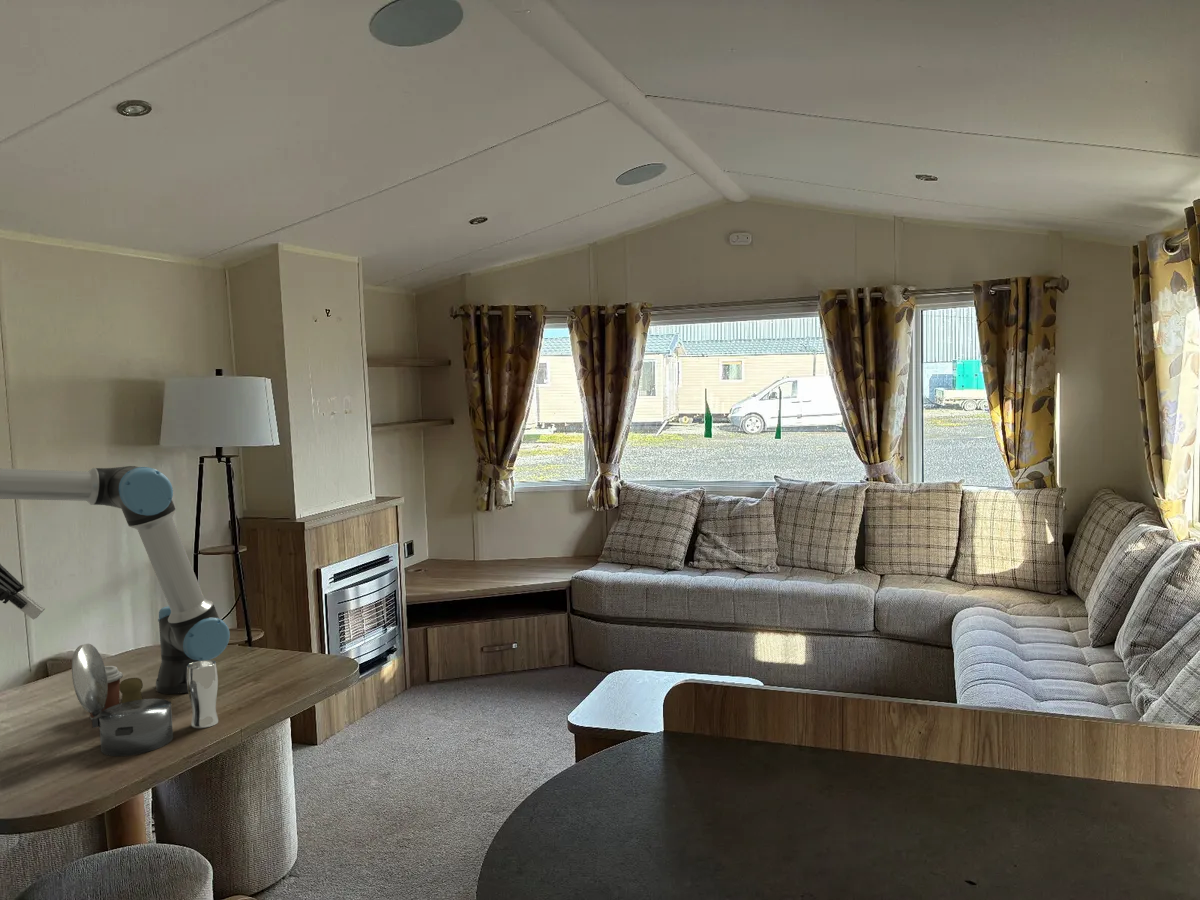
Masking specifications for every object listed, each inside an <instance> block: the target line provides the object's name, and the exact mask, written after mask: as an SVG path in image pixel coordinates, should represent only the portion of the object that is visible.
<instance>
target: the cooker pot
mask: <svg viewBox="0 0 1200 900" xmlns="http://www.w3.org/2000/svg"><path fill="white" fill-rule="evenodd" d="M172 712H173V711H172V703H171V701H170V700H167V699H163V698H144V699H143V698H142V699H141V700H134V701H129V702H125V703H119V704H118V705H115V706H112V707H109V708H107V709H105V710H104V711H101V712H100V713H99V714H98V715H97V716H95V717H94V718H93V719H92V720H91V722H92V723H91V725H92V728H99V736H100V737H99V738H100V751H101V753H102V754H104V755H105V756H111V757H126V756H128V757H129V756H135V755H141V754H144V753H145V754H146V753H149V752H151V751H155V750H158V749H160V748H162V747H165V746H167V745H168V744H169V743H170V742H172V741H173V738H174V729H173V728H174V727H173V714H172Z"/></svg>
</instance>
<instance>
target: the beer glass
mask: <svg viewBox="0 0 1200 900" xmlns="http://www.w3.org/2000/svg"><path fill="white" fill-rule="evenodd" d="M217 668H218V667H217V662H216V661H215V660H213V659H211V660H203V661H197V662H193V663H190V664H188V665H187V689H188V692H187V694H188V698H189V701H190V706H191V710H192V711H191V712H192V717H191V728H194V729H206V728H210V727H214V726H215V725H218V723H219V717H218V713H217V696H218V688H219V687H218V686H219V676H218V669H217Z"/></svg>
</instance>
